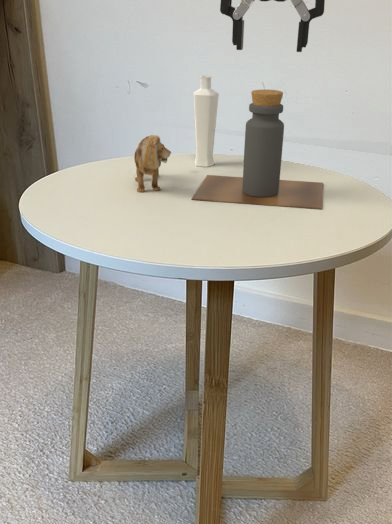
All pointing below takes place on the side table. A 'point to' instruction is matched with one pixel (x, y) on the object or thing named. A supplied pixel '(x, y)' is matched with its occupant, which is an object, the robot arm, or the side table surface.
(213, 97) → the perfume bottle
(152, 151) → the lion figurine
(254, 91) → the bottle
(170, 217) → the side table surface
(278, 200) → the copper mat
